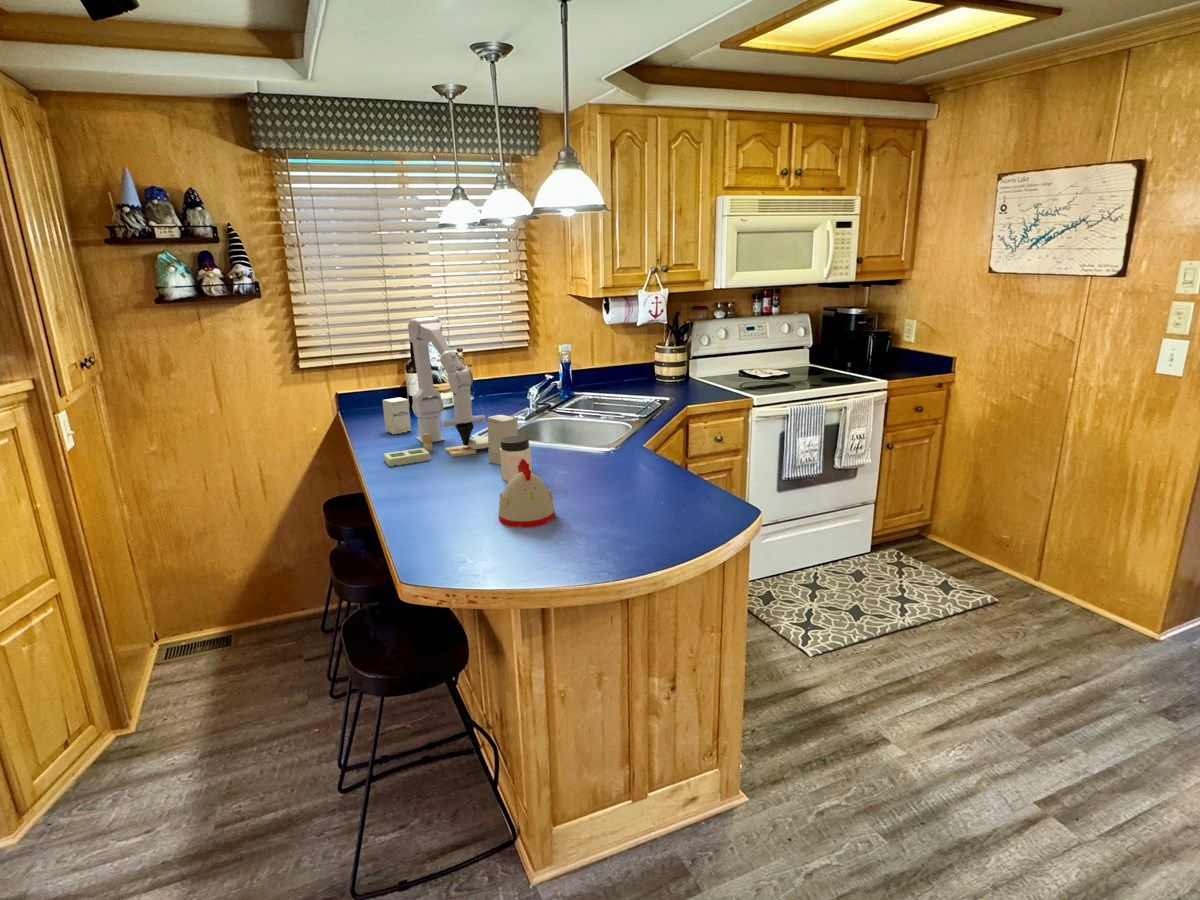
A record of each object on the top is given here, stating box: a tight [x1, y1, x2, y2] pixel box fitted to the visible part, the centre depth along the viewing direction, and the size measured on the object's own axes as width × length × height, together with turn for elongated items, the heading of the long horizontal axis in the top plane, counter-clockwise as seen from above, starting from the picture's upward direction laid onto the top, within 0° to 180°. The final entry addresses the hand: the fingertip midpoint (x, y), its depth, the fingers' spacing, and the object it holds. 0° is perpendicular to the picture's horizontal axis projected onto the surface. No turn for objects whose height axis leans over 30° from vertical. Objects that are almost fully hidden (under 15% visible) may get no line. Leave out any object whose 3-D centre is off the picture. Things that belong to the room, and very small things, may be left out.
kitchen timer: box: [498, 459, 555, 529], centre depth 172 cm, size 14×14×15 cm
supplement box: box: [382, 396, 412, 435], centre depth 264 cm, size 7×7×13 cm
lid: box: [468, 435, 488, 450], centre depth 238 cm, size 9×8×3 cm
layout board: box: [444, 444, 477, 458], centre depth 235 cm, size 9×8×1 cm
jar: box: [500, 435, 533, 483], centre depth 204 cm, size 9×8×12 cm
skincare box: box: [487, 414, 519, 466], centre depth 220 cm, size 8×6×15 cm
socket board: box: [383, 447, 431, 467], centre depth 227 cm, size 8×13×2 cm, turn 119°
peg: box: [422, 433, 434, 453], centre depth 237 cm, size 3×3×6 cm
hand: (465, 444), depth 236 cm, fingers closed
